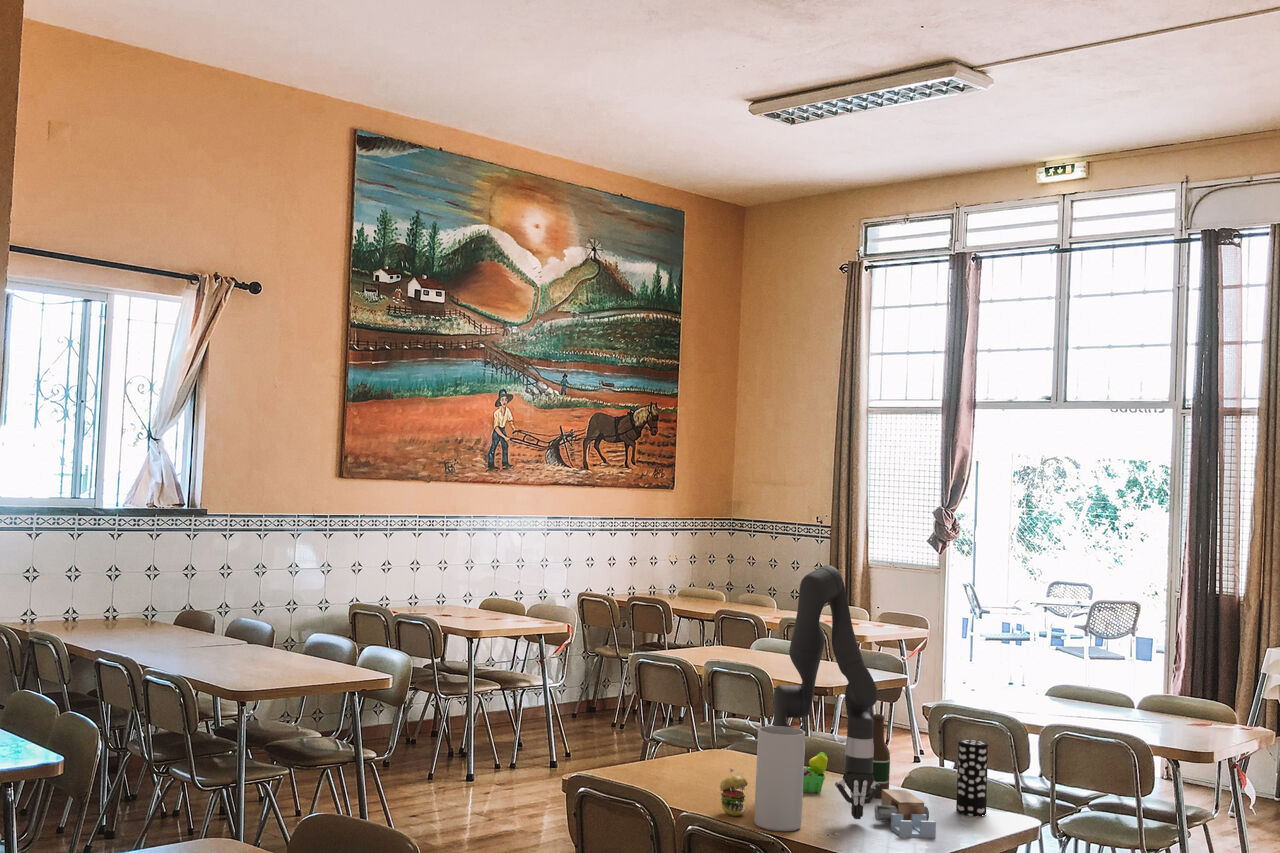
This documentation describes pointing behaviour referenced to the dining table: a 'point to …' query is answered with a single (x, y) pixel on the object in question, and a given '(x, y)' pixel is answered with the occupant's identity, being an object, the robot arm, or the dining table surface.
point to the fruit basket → (815, 773)
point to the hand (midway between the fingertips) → (857, 818)
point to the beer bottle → (880, 755)
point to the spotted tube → (972, 777)
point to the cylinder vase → (779, 778)
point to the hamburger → (733, 795)
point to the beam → (903, 802)
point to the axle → (885, 812)
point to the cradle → (913, 826)
